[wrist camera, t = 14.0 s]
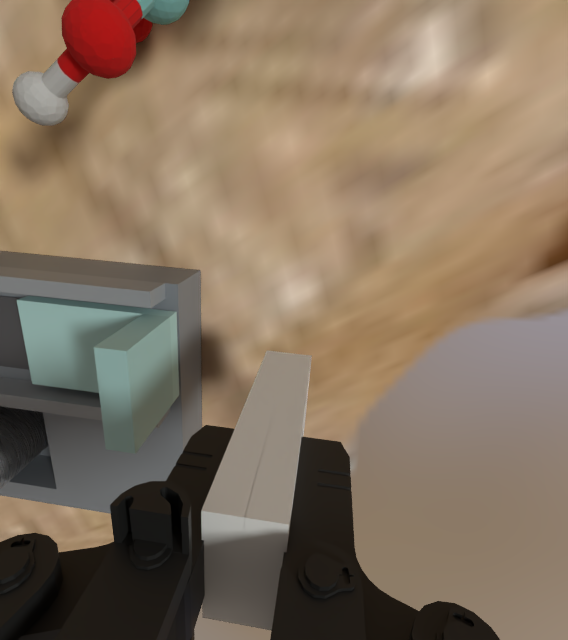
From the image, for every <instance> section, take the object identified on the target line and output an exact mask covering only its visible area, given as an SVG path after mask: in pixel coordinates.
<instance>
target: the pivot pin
mask: <svg viewBox="0 0 568 640" xmlns="http://www.w3.org/2000/svg"><path fill="white" fill-rule="evenodd" d="M48 446H49V444H48V439H47V433H46V428H45V422H44V417H43V412H37V411H30V410H23V409H16V408H9V407H2V406H0V489H1V488H2V487H3V486H5V485H6V484H7V483H8V482H9V481H10V480H11V479H12V478H13V477H15V476H16V475H17V474H18V473H19V472H20V471H21V470H22V469H23V468H24V467H26V466H27V465H28V464H29V463H30V462H31V461H32V460H33V459H34V458H35V457H37V456H38V455H39V454H40V453H41V452H42V451H43V450H44V449H45V448H46V447H48Z"/></svg>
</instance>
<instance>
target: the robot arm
mask: <svg viewBox="0 0 568 640" xmlns="http://www.w3.org/2000/svg"><path fill="white" fill-rule="evenodd" d="M311 357H312V356H310V355H301V354H292V353H284V352H275V351H266V354H265V356H264V359H263V361H262V364H261V366H260V368H259V371H258V373H257V376H256V378H255V381H254V383H253V386H252V388H251V390H250V393H249V395H248V398H247V400H246V403H245V405H244V407H243V410H242V412H241V415H240V417H239V420H238V422H237V425H236V427H235V429H231V428H224V427H217V426H209V425H205V426H204V427H203V428H201V429H200V430H199V431H198V432H196V433H195V434H194V435H192V436H191V438H190V439H189V441H188V443H187V445H186V446H185V448H184V450H183V453H182V454H181V455H180V457H179V459H178V460H177V462H176V466H174V467H173V469H172V471H171V473H170V474H169V476H168V478H167V480H166V481H150V482H146V483H142V484H139V485H135V486H134V487H132V488H130V489H128V490H127V491H125V492H123V493H121V494H120V495H119V496H118V497H117V498H116V499H115V500H114V501H113V502H112V503H111V505H110V511H111V519H112V527H113V535H114V542H112V543H110V544H107V545H103V546H99V547H94V548H87V549H80V550H73V551H66V552H58V547H57V543H55V542H54V541H53V540H52V539H51V538H50V537H49V536H47V535H42V534H38V533H31V534H23V535H17V536H15V537H12V538H10V539H7V540H4V541H2V542H0V640H194V628H195V624H196V621H197V618H198V615H199V612H200V609H201V605H202V604H203V618H208V619H213V620H219V621H224V622H229V623H235V624H240V625H246V626H251V627H256V628H262V629H267V630H272V632H271V639H270V640H500V639H499V638H498V636H497V635H496V634H495V632H494V631H493V630H492V628H491V627H490V626H489V625H488V624H486V623H485V622H484V621H483V620H482V619H481V618H479V617H478V616H477V615H476V614H475V613H474V612H472V611H470V610H467V609H466V608H464V607H462V606H459V605H457V604H455V603H449V602H441V601H437V602H434V603H431V604H428V605H425V606H424V607H423V608H422V609H421V610H420V611H417V610H416V609H413V608H412V607H410V606H408V605H406V604H404V603H402V602H400V601H398V600H396V599H394V598H392V597H390V596H389V595H387V594H386V593H384V592H383V591H381V590H380V589H378V588H377V587H376V586H375V585H374V584H373V583H372V582H371V581H370V580H369V579H368V578H367V576H366V575H365V573H364V572H363V571H362V569H361V567H360V565H359V563H358V561H357V558H356V553H355V548H354V531H353V512H352V495H351V477H350V458H349V455H348V454H347V452H346V450H345V449H344V447H343V445H342V444H341V442H337V441H329V440H322V439H315V438H307V437H303V434H304V426H305V416H306V406H307V397H308V387H309V377H310V367H311Z"/></svg>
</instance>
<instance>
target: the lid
mask: <svg viewBox="0 0 568 640" xmlns="http://www.w3.org/2000/svg"><path fill="white" fill-rule="evenodd" d="M17 305H18V310H19V316H20V321H21V326H22V332H23V337H24V342H25V348H26V353H27V358H28V364H29V369H30V374H31V380H32V384H36V385H44V386H51V387H59V388H66V389H74V390H81V391H89V392H96V393H99V396H100V405H101V413H102V422H103V430H104V438H105V447H106V449H107V450H113V451H120V452H127V453H133V454H136V452H137V451H138V450H139V448H140V447H141V446H142V444H143V443H144V442H145V440H146V439H147V438H148V436H149V435H150V434H151V432H152V431H153V429H154V428H155V427H156V425H157V424H158V423H159V421H160V420H161V419H162V417H163V416H164V415H165V413H166V412H167V411H168V409H169V408H170V407H171V405H172V404H173V403H174V401H175V400H176V399H177V397H178V396H179V371H178V341H177V312H175V311H166V310H157V309H148V308H139V307H130V306H120V305H111V304H102V303H93V302H84V301H74V300H65V299H56V298H47V297H38V296H26V297H23V298H20V299H18V300H17Z"/></svg>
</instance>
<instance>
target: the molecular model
mask: <svg viewBox="0 0 568 640" xmlns="http://www.w3.org/2000/svg"><path fill="white" fill-rule="evenodd" d="M188 4H189V0H72V1H71V2H70V3H69V4H68V5H67V7H66V8H65V11H64V13H63V16H62V36H63V39H64V41H65V44H66V47H67V49H66V50H65V51H64V52H63V53H62V54H61V56H60V57H59V58H58V59H57V60H56V61H55V62H54V63H53V64H52V65H51V66H50V67H49V68H48V69H47V71H46V72H45V73H41V72H30V71H28V72H26V73H23V74H21V75H20V76H19V77H18V78H17V79H16V80H15V82H14V85H13V92H12V93H13V97H14V100H15V104H16V105H17V107H18V109H19V110H20V112H21V113H22V114H23V115H24V116H26V117H27V118H28V119H29V120H31V121H33V122H35V123H37V124H40V125H56V124H58V123H60V122H62V121H63V120H64V118H65V117H66V116H67V112H68V107H69V104H68V100H67V95H68V94H69V93H70V92H71V91H72V90H73V89H74V88H75V87H76V86H77V85H78V84H79V83H80V82H81V81H82V80H83V79H84V78H85V77H86V76H87V75H88V74H89V73H91V74H93V75H96V76H100V77H103V78H107V79H109V78H116V77H119V76H121V75H123V74H125V73H126V72H127V71H128V70H129V69H130V68H131V66H132V63H133V61H134V59H135V56H136V43H138V42H142V41H143V40H144V39H146V37H147V36H148V35H149V33H150V31H151V29H152V23H157V24H161V25H166V24H170V23H172V22H175V21H177V20H179V18H180V17H181V16H182V15H183V14H184V12H185V11H186V9H187V6H188Z"/></svg>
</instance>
